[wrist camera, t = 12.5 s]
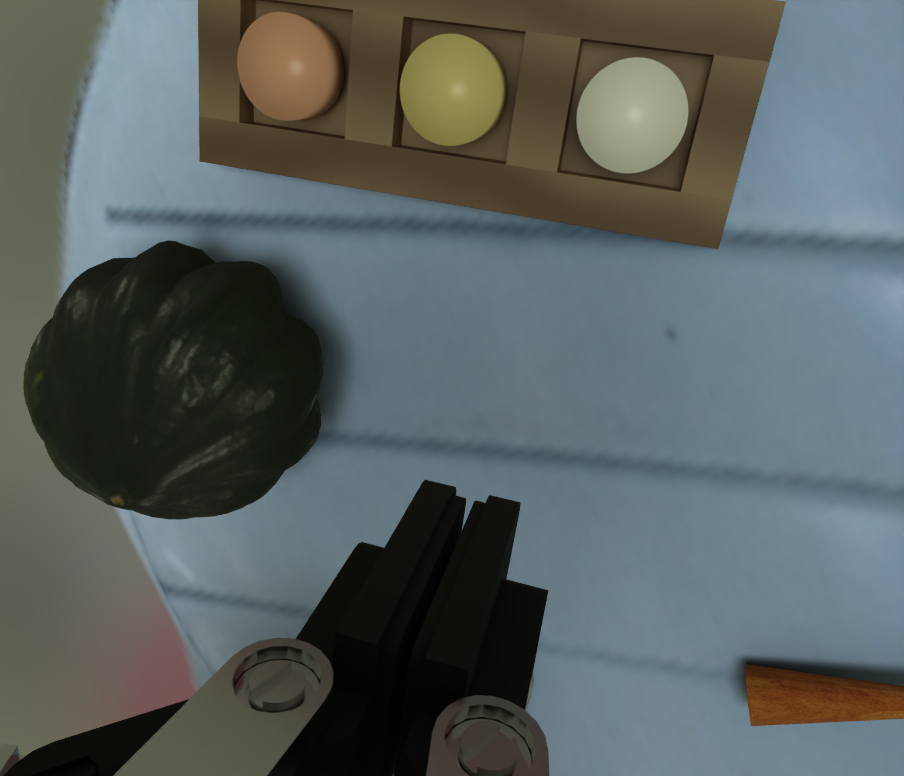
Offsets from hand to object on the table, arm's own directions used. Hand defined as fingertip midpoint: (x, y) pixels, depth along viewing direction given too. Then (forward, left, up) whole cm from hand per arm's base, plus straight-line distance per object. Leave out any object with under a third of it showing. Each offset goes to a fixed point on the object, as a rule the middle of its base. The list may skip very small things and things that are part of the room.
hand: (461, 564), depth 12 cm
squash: (-9, +19, -27) cm, 35 cm away
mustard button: (+7, +7, -25) cm, 27 cm away
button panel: (+7, +7, -27) cm, 29 cm away
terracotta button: (+7, +15, -25) cm, 30 cm away
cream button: (+7, -1, -25) cm, 26 cm away
